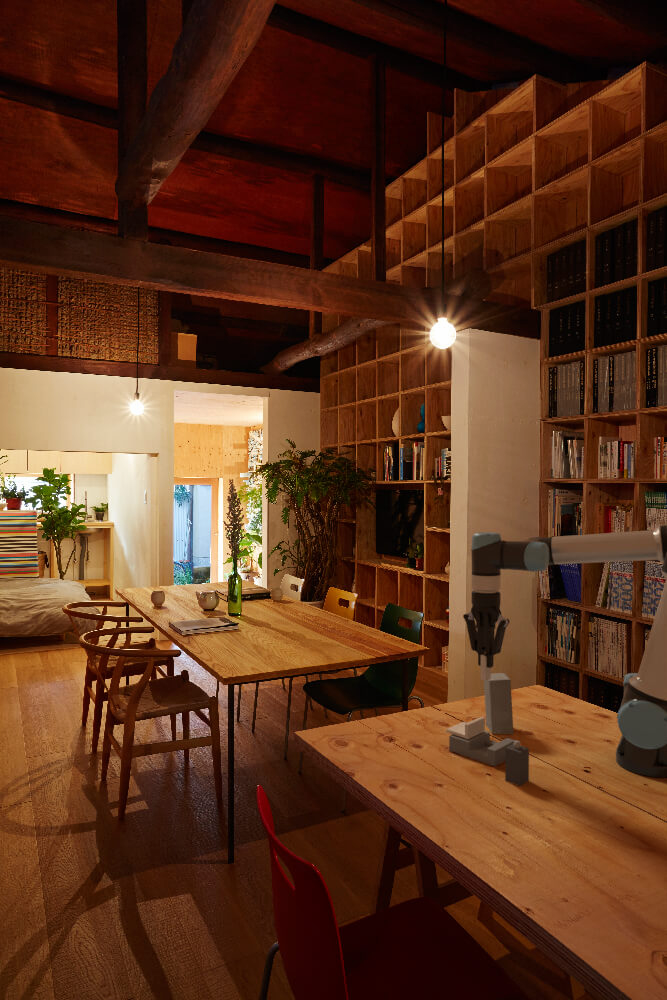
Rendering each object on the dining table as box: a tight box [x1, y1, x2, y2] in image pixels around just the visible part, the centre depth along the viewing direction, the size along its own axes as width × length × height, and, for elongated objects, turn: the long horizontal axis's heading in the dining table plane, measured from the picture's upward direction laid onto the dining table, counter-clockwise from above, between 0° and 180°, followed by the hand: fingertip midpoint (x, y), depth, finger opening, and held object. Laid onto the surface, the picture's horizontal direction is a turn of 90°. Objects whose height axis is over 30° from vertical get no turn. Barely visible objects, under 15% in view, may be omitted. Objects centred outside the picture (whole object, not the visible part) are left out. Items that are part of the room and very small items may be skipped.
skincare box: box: [483, 672, 514, 735], centre depth 190 cm, size 8×7×16 cm
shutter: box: [445, 716, 486, 739], centre depth 176 cm, size 7×8×4 cm
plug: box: [504, 740, 530, 787], centre depth 156 cm, size 4×4×10 cm
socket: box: [448, 730, 516, 767], centre depth 173 cm, size 14×10×4 cm
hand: (485, 678), depth 172 cm, fingers closed
